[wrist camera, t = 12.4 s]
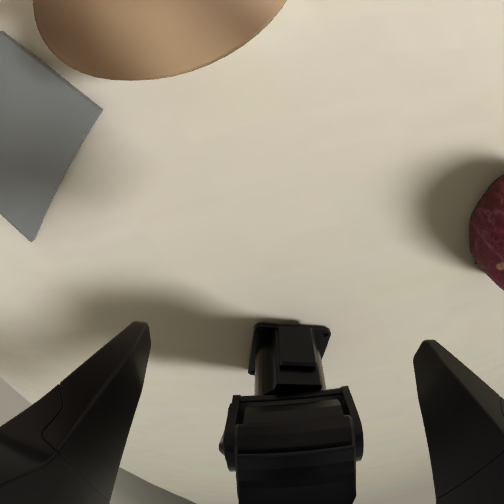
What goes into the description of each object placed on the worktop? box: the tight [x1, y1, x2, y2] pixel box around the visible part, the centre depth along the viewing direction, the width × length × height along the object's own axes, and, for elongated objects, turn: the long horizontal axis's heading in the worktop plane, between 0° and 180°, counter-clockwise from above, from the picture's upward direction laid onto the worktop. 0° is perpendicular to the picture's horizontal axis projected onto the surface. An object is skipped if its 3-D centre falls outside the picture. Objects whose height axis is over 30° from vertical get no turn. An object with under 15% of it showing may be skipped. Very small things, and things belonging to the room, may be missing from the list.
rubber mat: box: [0, 31, 103, 242], centre depth 18 cm, size 13×13×1 cm
